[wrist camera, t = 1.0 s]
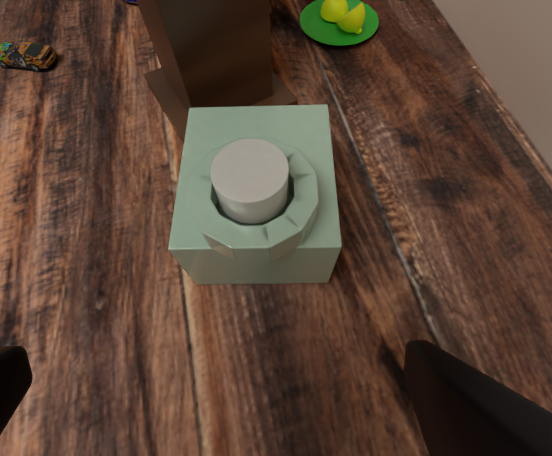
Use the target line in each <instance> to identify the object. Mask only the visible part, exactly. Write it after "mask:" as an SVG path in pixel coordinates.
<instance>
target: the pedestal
mask: <svg viewBox="0 0 552 456" xmlns="http://www.w3.org/2000/svg"><path fill="white" fill-rule="evenodd" d="M136 1H137V4H138V6H139V9H140V12H141V14H142V17H143V20H144V22H145V25H146V27H147V30H148V33H149V35H150V38H151V41H152V43H153V46H154V49H155V51H156V54H157V57H158V59H159V62H160V64H161V68H159V69H156V70H154V71H151V72H149V73H146V74H144V76H145V78H146V81H147V83H148V85H149V87H150V89H151V91H152V93H153V94H154V96H155V98H156V99H157V101H158V103H159V104H160V106H161V108H162V109H163V111H164V112H165V114H166V116H167V117H168V119H169V121H170V122H171V124H172V126H173V127H174V129H175V131H176V132H177V134H178V136H179V137H180V139H181V141H182V142H183V144H184V139H185V132H186V126H187V119H188V112H189V108H194V107H237V106H280V105H297V98H296V97H295V96H294V95H293V94H292V93H291V92H290V90H289V89H288V88H287V87H286V86H285V85H284V84H283V82H282V81H281V80H280V79H279V78H278V77H277V75H276V74H275V73H274V72H273V71H272V58H271V35H270V12H269V0H136Z"/></svg>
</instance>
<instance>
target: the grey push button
mask: <svg viewBox="0 0 552 456" xmlns="http://www.w3.org/2000/svg"><path fill="white" fill-rule="evenodd" d="M210 177H211V181H212V184H213V187H214V190H215V192H216V195H217V198H218V201H219V204H220V206H221V208H222V210H223V211H224V212H225V213H226V214H227V215H228V216H229V217H231V218H232V219H234V220H236V221H238V222H242V223H247V224H255V223H262V222H265V221H268V220H270V219H272V218H273V217H275V216H276V215H277V214H279V213H280V212H281V211H282V209H283V208H284V206H285V205H286V202H287V200H288V194H289V164H288V161H287V158H286V156H285V155H284V153H283V152H282V151H281V149H280V148H278V147H277V146H276V145H274V144H273V143H271V142H269V141H266V140H262V139H256V138H247V139H241V140H237V141H234V142H232V143H230V144H228V145H226V146H225V147H223V148H222V149H221V150H220V151H219V152H218V153H217V155H216V156H215V157H214V159H213V161H212V164H211V168H210Z"/></svg>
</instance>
